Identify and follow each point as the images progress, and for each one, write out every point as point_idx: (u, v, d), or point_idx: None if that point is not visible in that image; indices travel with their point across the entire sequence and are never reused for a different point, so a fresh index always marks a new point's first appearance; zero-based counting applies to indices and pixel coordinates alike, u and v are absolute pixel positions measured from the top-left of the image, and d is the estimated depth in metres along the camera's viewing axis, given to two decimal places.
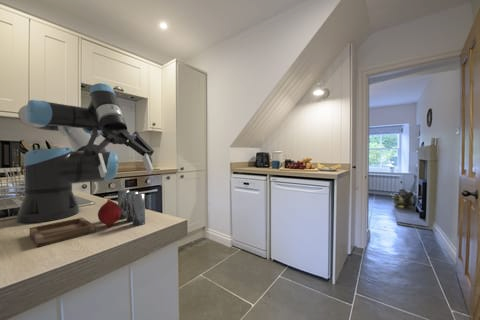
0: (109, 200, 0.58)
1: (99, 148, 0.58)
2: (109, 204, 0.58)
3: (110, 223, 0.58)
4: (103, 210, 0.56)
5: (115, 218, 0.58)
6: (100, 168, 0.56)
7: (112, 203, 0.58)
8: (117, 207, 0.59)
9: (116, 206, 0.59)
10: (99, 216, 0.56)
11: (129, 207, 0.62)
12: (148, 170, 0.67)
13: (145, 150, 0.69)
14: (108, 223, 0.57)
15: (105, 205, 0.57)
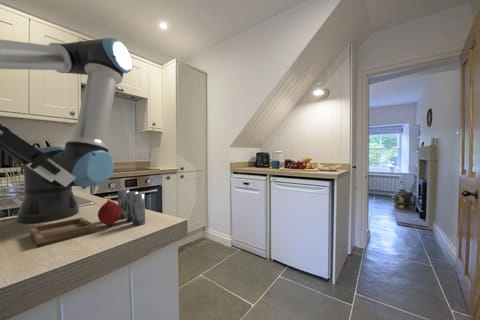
0: (109, 200, 0.58)
1: (18, 160, 0.49)
2: (109, 204, 0.58)
3: (110, 223, 0.58)
4: (103, 210, 0.56)
5: (115, 218, 0.58)
6: None
7: (112, 203, 0.58)
8: (117, 207, 0.59)
9: (116, 206, 0.59)
10: (99, 216, 0.56)
11: (129, 207, 0.62)
12: None
13: (30, 162, 0.41)
14: (108, 223, 0.57)
15: (105, 205, 0.57)
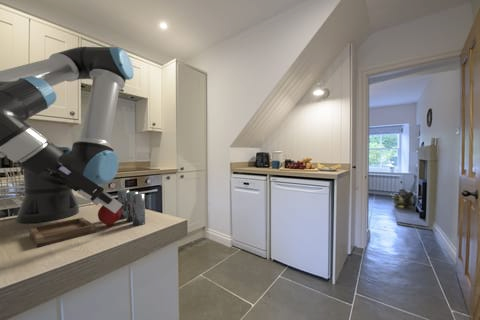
0: None
1: (72, 188, 0.57)
2: None
3: (110, 223, 0.58)
4: (103, 210, 0.56)
5: (115, 218, 0.58)
6: None
7: None
8: None
9: None
10: (99, 216, 0.56)
11: (129, 207, 0.62)
12: None
13: (89, 194, 0.49)
14: (108, 223, 0.57)
15: None
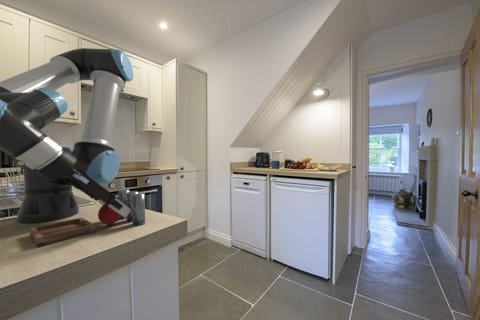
0: None
1: (92, 197, 0.58)
2: None
3: (110, 223, 0.58)
4: (103, 210, 0.56)
5: (115, 218, 0.58)
6: None
7: None
8: None
9: None
10: (99, 216, 0.56)
11: (129, 207, 0.62)
12: None
13: (103, 201, 0.54)
14: (108, 223, 0.57)
15: None
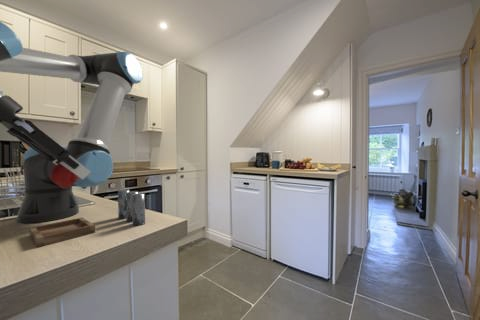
0: None
1: (44, 155, 0.52)
2: None
3: (65, 185, 0.52)
4: (56, 169, 0.51)
5: (70, 179, 0.52)
6: None
7: None
8: None
9: None
10: (51, 176, 0.50)
11: (129, 207, 0.62)
12: None
13: (54, 157, 0.48)
14: (62, 184, 0.51)
15: (59, 164, 0.51)
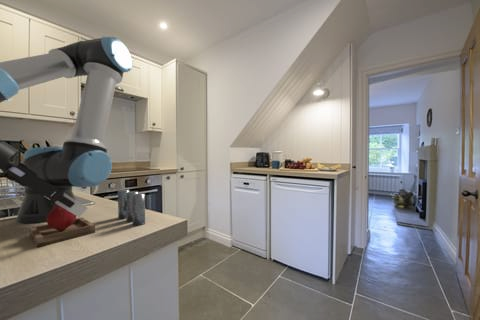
0: None
1: None
2: (60, 207, 0.51)
3: (61, 228, 0.51)
4: (52, 213, 0.50)
5: (67, 223, 0.51)
6: None
7: None
8: None
9: None
10: (47, 220, 0.50)
11: (129, 207, 0.62)
12: None
13: None
14: (58, 228, 0.51)
15: (55, 208, 0.51)
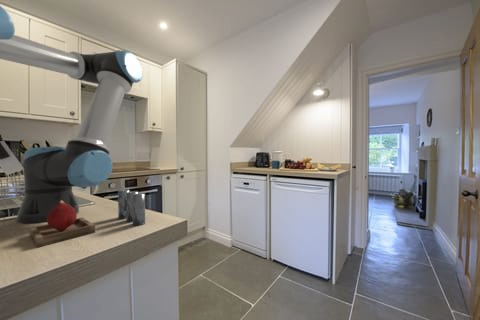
0: (61, 202, 0.52)
1: None
2: (60, 207, 0.52)
3: (61, 228, 0.51)
4: (52, 213, 0.50)
5: (67, 222, 0.52)
6: None
7: (64, 205, 0.52)
8: (70, 210, 0.53)
9: (69, 209, 0.52)
10: (48, 220, 0.50)
11: (129, 207, 0.62)
12: None
13: None
14: (59, 228, 0.51)
15: (55, 208, 0.51)
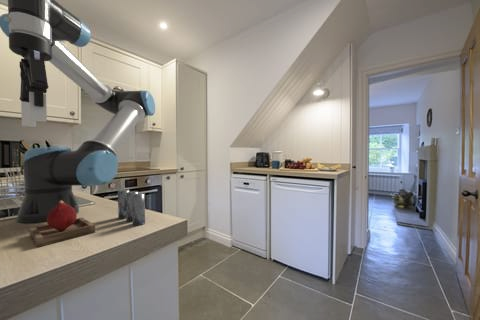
0: (61, 202, 0.52)
1: (21, 94, 0.54)
2: (60, 207, 0.51)
3: (61, 228, 0.51)
4: (52, 213, 0.50)
5: (67, 222, 0.52)
6: None
7: (64, 205, 0.52)
8: (70, 210, 0.53)
9: (69, 209, 0.52)
10: (48, 220, 0.50)
11: (129, 207, 0.62)
12: None
13: (30, 85, 0.46)
14: (59, 228, 0.51)
15: (55, 208, 0.51)
